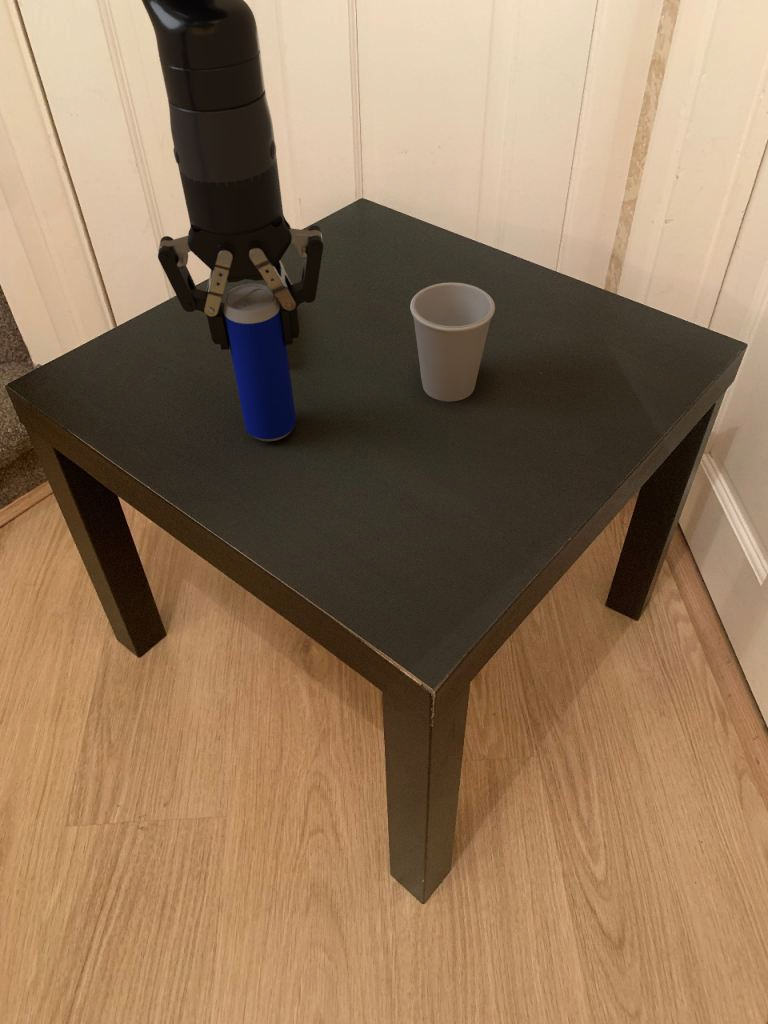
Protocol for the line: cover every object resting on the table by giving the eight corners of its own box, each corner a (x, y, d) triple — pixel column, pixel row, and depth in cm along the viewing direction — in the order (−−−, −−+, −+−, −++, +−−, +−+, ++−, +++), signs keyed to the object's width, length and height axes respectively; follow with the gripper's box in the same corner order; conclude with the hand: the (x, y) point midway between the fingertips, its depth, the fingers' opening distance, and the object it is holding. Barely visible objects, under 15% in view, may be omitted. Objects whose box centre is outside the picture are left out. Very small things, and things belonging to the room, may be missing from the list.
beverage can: (274, 404, 83) (255, 275, 72) (306, 426, 80) (291, 297, 70) (235, 427, 81) (209, 297, 70) (267, 451, 78) (245, 321, 67)
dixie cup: (417, 414, 82) (418, 332, 75) (404, 365, 88) (403, 285, 81) (496, 405, 83) (504, 323, 76) (477, 357, 89) (484, 277, 81)
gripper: (318, 130, 64) (332, 313, 76) (137, 142, 63) (181, 325, 75) (323, 171, 58) (337, 360, 71) (126, 184, 58) (175, 373, 70)
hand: (257, 341), depth 73 cm, fingers closed on beverage can, 5 cm apart
